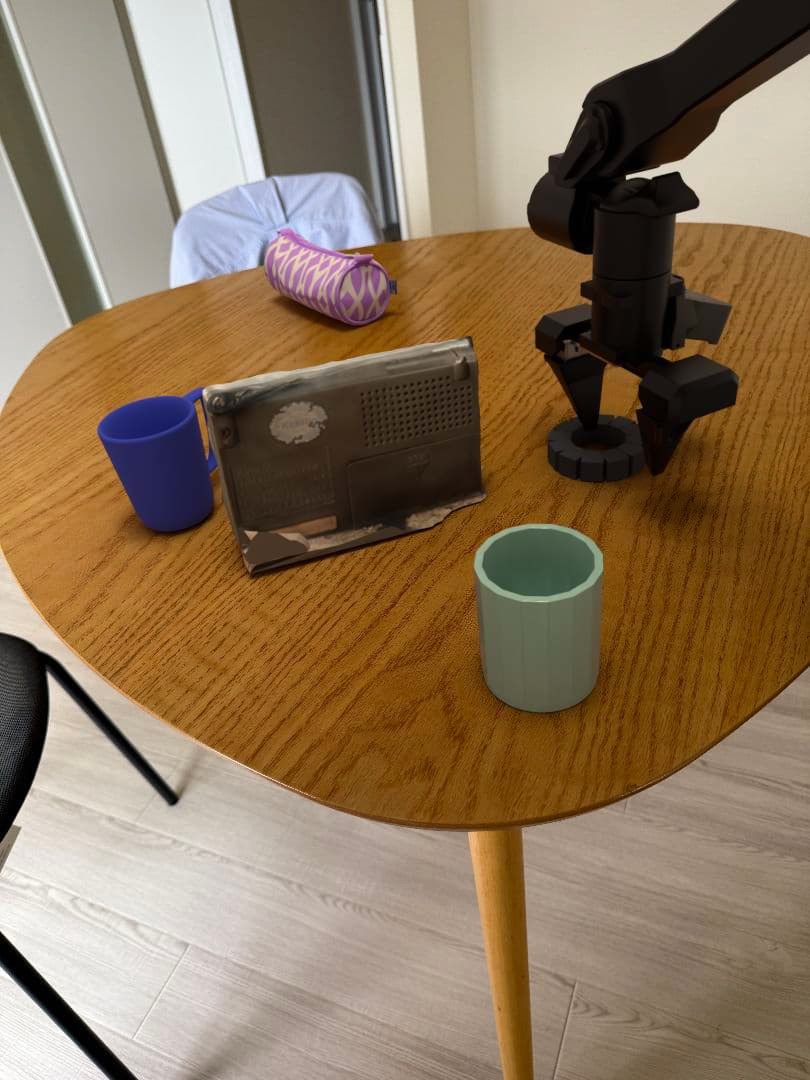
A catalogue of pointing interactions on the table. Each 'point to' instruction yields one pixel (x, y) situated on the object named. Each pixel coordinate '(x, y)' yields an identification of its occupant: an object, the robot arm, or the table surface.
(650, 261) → the robot arm
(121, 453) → the mug
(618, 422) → the ring
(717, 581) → the table surface
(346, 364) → the radio
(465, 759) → the table surface
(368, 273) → the pencil case
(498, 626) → the cup
